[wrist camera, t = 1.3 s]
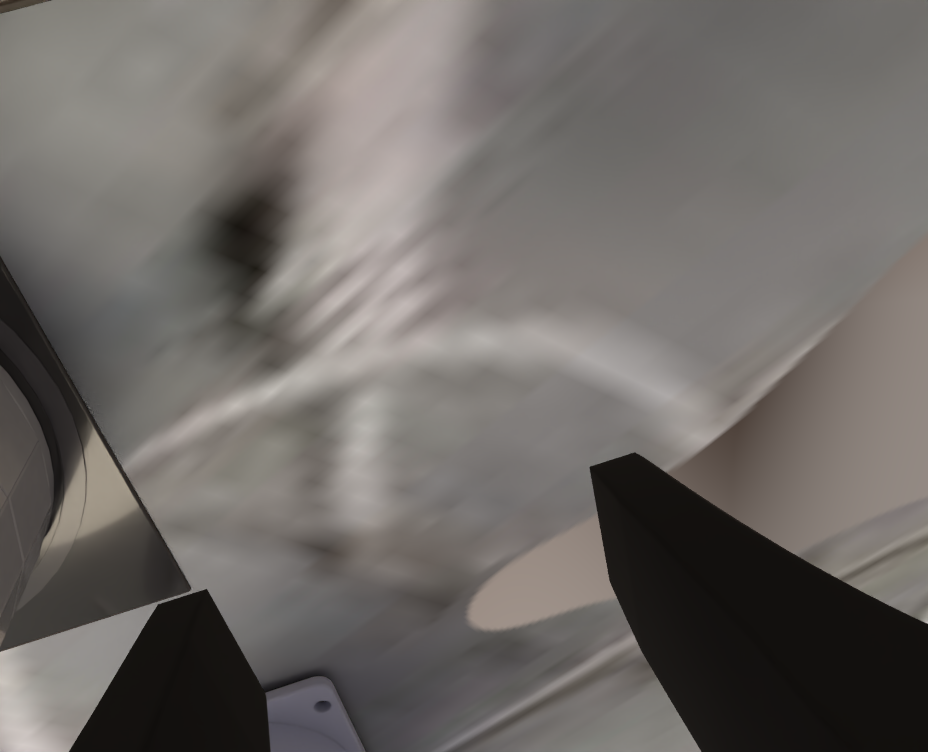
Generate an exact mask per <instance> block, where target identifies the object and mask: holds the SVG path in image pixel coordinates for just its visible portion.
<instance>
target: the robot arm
mask: <svg viewBox="0 0 928 752" xmlns="http://www.w3.org/2000/svg"><path fill="white" fill-rule="evenodd" d="M590 473H591V478H592V484H593V489H594V495H595V501H596V506H597V512H598V518H599V523H600V529H601V535H602V540H603V546H604V551H605V557H606V563H607V568H608V574H609V580H610V583H611V585H612V587H613V590H614V592H615V594H616V596H617V599H618V601H619V603H620V605H621V607H622V610H623V612H624V614H625V616H626V619H627V621H628V623H629V625H630V627H631V629H632V631H633V634H634V636H635V638H636V640H637V642H638V644H639V646H640V649H641V651H642V653H643V654H644V656H645V658H646V659H647V661H648V663H649V665H650V666H651V668H652V670H653V671H654V673H655V675H656V676H657V678H658V680H659V681H660V683H661V685H662V686H663V688H664V690H665V692H666V693H667V695H668V697H669V698H670V700H671V702H672V703H673V705H674V707H675V708H676V710H677V712H678V713H679V715H680V717H681V718H682V720H683V722H684V723H685V725H686V727H687V728H688V730H689V732H690V733H691V735H692V737H693V738H694V740H695V742H696V743H697V745H698V747H699V748H700V750H701V752H928V624H927V623H924V622H922V621H920V620H918V619H916V618H914V617H911V616H909V615H907V614H905V613H903V612H901V611H899V610H897V609H895V608H893V607H891V606H889V605H887V604H885V603H883V602H881V601H879V600H877V599H875V598H873V597H871V596H869V595H867V594H865V593H863V592H862V591H860V590H858V589H856V588H854V587H852V586H850V585H848V584H847V583H845V582H843V581H841V580H839V579H837V578H836V577H834V576H832V575H830V574H828V573H826V572H825V571H823V570H821V569H819V568H817V567H815V566H814V565H812V564H810V563H808V562H807V561H805V560H803V559H801V558H800V557H798V556H796V555H794V554H793V553H791V552H789V551H787V550H786V549H784V548H782V547H781V546H779V545H778V544H776V543H774V542H772V541H771V540H769V539H768V538H766V537H764V536H763V535H761V534H759V533H758V532H756V531H754V530H753V529H751V528H750V527H748V526H746V525H745V524H743V523H741V522H740V521H738V520H736V519H735V518H733V517H732V516H730V515H729V514H727V513H726V512H724V511H722V510H721V509H719V508H718V507H716V506H715V505H713V504H711V503H710V502H709V501H707V500H706V499H704V498H703V497H701V496H700V495H698V494H696V493H695V492H694V491H692V490H691V489H689V488H688V487H686V486H685V485H683V484H681V483H680V482H679V481H677V480H676V479H674V478H673V477H672V476H670V475H668V474H667V473H666V472H664V471H663V470H661V469H660V468H658V467H657V466H656V465H654V464H653V463H651V462H650V461H648V460H647V459H645V458H644V457H642V456H640V455H639V454H637V453H631V454H628V455H625V456H622V457H619V458H616V459H613V460H610V461H606V462H603V463H600V464H597V465H594V466H591V467H590ZM319 701H325V702H319ZM69 752H366V751H365V749H364V747H363V745H362V743H361V741H360V739H359V737H358V734H357V732H356V730H355V728H354V726H353V724H352V722H351V720H350V718H349V716H348V714H347V712H346V710H345V708H344V706H343V703H342V701H341V699H340V697H339V695H338V693H337V691H336V689H335V687H334V685H333V683H332V681H331V680H330V679H328V678H326V677H324V676H315V677H311V678H308V679H305V680H302V681H299V682H296V683H293V684H290V685H287V686H284V687H281V688H278V689H275V690H272V691H269V692H266V693H265V692H264V690H263V688H262V687H261V685H260V683H259V681H258V680H257V678H256V676H255V674H254V672H253V671H252V669H251V667H250V665H249V663H248V662H247V660H246V658H245V656H244V655H243V653H242V651H241V649H240V647H239V646H238V644H237V642H236V640H235V638H234V637H233V635H232V633H231V631H230V630H229V628H228V626H227V624H226V622H225V621H224V619H223V617H222V615H221V613H220V612H219V610H218V608H217V606H216V604H215V603H214V601H213V599H212V597H211V596H210V594H209V592H208V590H207V589H205V590H202V591H199V592H196V593H193V594H190V595H186V596H183V597H180V598H177V599H174V600H171V601H168V602H165V603H161V604H158V605H157V607H156V609H155V610H154V612H153V613H152V615H151V617H150V618H149V620H148V621H147V623H146V625H145V626H144V628H143V630H142V631H141V633H140V635H139V636H138V638H137V640H136V641H135V643H134V645H133V646H132V648H131V650H130V651H129V653H128V655H127V657H126V658H125V660H124V662H123V663H122V665H121V667H120V668H119V670H118V672H117V673H116V675H115V677H114V678H113V680H112V682H111V684H110V685H109V687H108V689H107V690H106V692H105V694H104V695H103V697H102V699H101V700H100V702H99V704H98V705H97V707H96V709H95V710H94V712H93V713H92V715H91V717H90V718H89V720H88V722H87V723H86V725H85V727H84V728H83V730H82V731H81V733H80V735H79V736H78V738H77V740H76V741H75V743H74V744H73V746H72V748H71V749H70V751H69Z"/></svg>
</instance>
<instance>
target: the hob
mask: <svg viewBox="0 0 928 752" xmlns="http://www.w3.org/2000/svg"><path fill="white" fill-rule="evenodd" d="M0 365H1V366H2V367H3V368H4V369H5V370H6V372H7V373H8V374H9V375H10V376H11V378H12V379H13V381H14V382H15V383H16V385H17V386H18V388H19V389H20V390H21V392H22V393H23V395H24V396H25V397H26V399H27V401H28V403H29V404H30V406H31V408H32V410H33V412H34V414H35V416H36V418H37V420H38V422H39V423H40V426H41V428H42V431H43V434H44V437H45V440H46V443H47V446H48V448H49V452H50V457H51V463H52V469H53V474H54V501H53V507H52V512H51V518H50V523H49V526H48V528H47V531H46V534H45V536H44V539H43V543H42V547H41V551H40V555H39V558H38V560H37V562H36V565H35V567H34V569H33V572H32V574H31V576H30V579H29V581H28V583H27V586H26V588H25V590H24V593H23V595H22V597H21V599H20V602H19V604H18V606H17V609H16V611H15V613H14V616H13V618H12V620H11V623H10V625H9V627H8V630H7V632H6V634H5V637H4V639H3V641H2V644H1V646H0V652H1V651H4V650H7V649H10V648H13V647H17V646H20V645H23V644H26V643H29V642H32V641H35V640H39V639H42V638H45V637H48V636H51V635H54V634H57V633H60V632H64V631H67V630H70V629H73V628H76V627H79V626H82V625H86V624H89V623H92V622H95V621H98V620H101V619H104V618H108V617H111V616H114V615H117V614H120V613H123V612H126V611H129V610H133V609H136V608H139V607H142V606H145V605H148V604H151V603H155V602H158V601H161V600H164V599H167V598H170V597H173V596H177V595H180V594H183V593H186V592H189V591H190V590H191V587H190V586H189V584H188V582H187V581H186V579H185V577H184V575H183V574H182V572H181V570H180V568H179V567H178V565H177V563H176V561H175V560H174V558H173V556H172V554H171V553H170V551H169V549H168V547H167V546H166V544H165V542H164V540H163V539H162V537H161V535H160V534H159V532H158V530H157V528H156V527H155V525H154V523H153V521H152V520H151V518H150V516H149V514H148V513H147V511H146V509H145V507H144V506H143V504H142V502H141V500H140V499H139V497H138V495H137V493H136V492H135V490H134V488H133V487H132V485H131V483H130V481H129V480H128V478H127V476H126V474H125V473H124V471H123V469H122V467H121V466H120V464H119V462H118V460H117V459H116V457H115V455H114V453H113V452H112V450H111V448H110V446H109V445H108V443H107V441H106V440H105V438H104V436H103V434H102V433H101V431H100V429H99V427H98V426H97V424H96V422H95V420H94V419H93V417H92V415H91V413H90V412H89V410H88V408H87V406H86V405H85V403H84V401H83V399H82V398H81V396H80V394H79V393H78V391H77V389H76V387H75V386H74V384H73V382H72V380H71V379H70V377H69V375H68V373H67V372H66V370H65V368H64V366H63V365H62V363H61V361H60V359H59V358H58V356H57V354H56V352H55V351H54V349H53V347H52V346H51V344H50V342H49V340H48V339H47V337H46V335H45V333H44V332H43V330H42V328H41V326H40V325H39V323H38V321H37V319H36V318H35V316H34V314H33V312H32V311H31V309H30V307H29V305H28V304H27V302H26V300H25V299H24V297H23V295H22V293H21V292H20V290H19V288H18V286H17V285H16V283H15V281H14V279H13V278H12V276H11V274H10V272H9V271H8V269H7V267H6V265H5V264H4V262H3V260H2V258H1V257H0Z"/></svg>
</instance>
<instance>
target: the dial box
mask: <svg viewBox="0 0 928 752" xmlns="http://www.w3.org/2000/svg"><path fill="white" fill-rule="evenodd" d="M47 1H51V0H0V14H1V13H4V12H8V11H12V10H16V9H20V8H24V7H28V6H31V5H35V4H39V3H43V2H47Z"/></svg>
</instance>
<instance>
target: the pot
mask: <svg viewBox="0 0 928 752" xmlns="http://www.w3.org/2000/svg"><path fill="white" fill-rule="evenodd" d="M53 501H54V474H53V469H52V463H51V457H50V452H49V448H48V446H47V443H46V440H45V437H44V434H43V431H42V428H41V426H40V423H39V422H38V420H37V418H36V416H35V414H34V412H33V410H32V408H31V406H30V404H29V403H28V401H27V399H26V397H25V396H24V395H23V393H22V392H21V390H20V389H19V388H18V386H17V385H16V383H15V382H14V381H13V379H12V378H11V376H10V375H9V374H8V373H7V372H6V370H5V369H4V368H3V367H2V366H1V365H0V646H1V644H2V641H3V639H4V637H5V634H6V632H7V630H8V627H9V625H10V623H11V620H12V618H13V616H14V613H15V611H16V609H17V606H18V604H19V602H20V599H21V597H22V595H23V593H24V590H25V588H26V586H27V583H28V581H29V579H30V576H31V574H32V572H33V569H34V567H35V565H36V562H37V560H38V558H39V555H40V551H41V547H42V543H43V539H44V536H45V534H46V531H47V528H48V526H49V523H50V518H51V512H52V507H53Z"/></svg>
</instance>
